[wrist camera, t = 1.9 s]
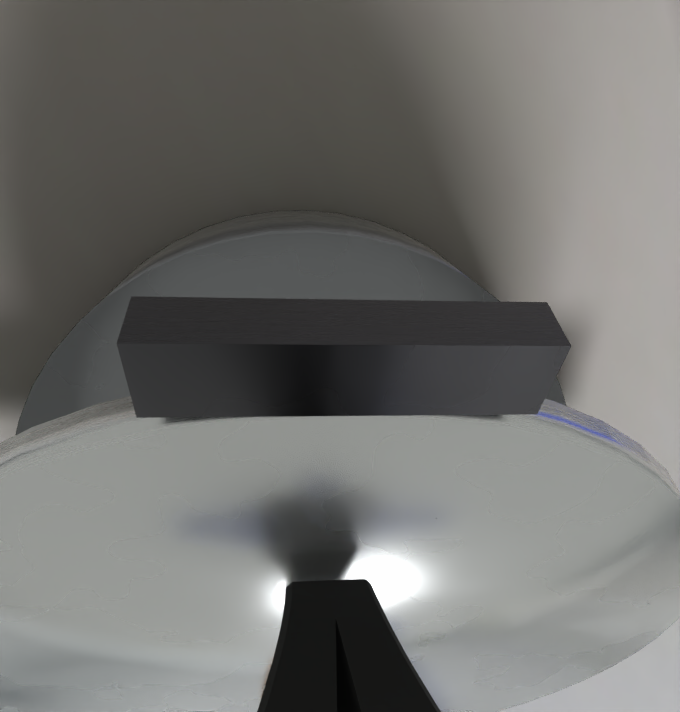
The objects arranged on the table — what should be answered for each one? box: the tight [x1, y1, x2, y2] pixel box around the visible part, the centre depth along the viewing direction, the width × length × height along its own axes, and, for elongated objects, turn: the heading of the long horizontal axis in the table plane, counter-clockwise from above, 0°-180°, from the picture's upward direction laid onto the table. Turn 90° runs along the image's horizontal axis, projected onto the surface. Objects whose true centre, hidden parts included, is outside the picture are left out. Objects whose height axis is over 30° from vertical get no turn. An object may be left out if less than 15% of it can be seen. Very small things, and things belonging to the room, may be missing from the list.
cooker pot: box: [16, 210, 566, 435], centre depth 18 cm, size 18×20×4 cm
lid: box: [0, 296, 680, 712], centre depth 12 cm, size 18×17×2 cm
